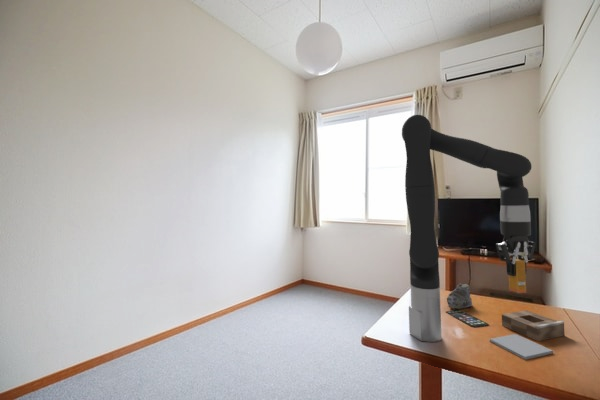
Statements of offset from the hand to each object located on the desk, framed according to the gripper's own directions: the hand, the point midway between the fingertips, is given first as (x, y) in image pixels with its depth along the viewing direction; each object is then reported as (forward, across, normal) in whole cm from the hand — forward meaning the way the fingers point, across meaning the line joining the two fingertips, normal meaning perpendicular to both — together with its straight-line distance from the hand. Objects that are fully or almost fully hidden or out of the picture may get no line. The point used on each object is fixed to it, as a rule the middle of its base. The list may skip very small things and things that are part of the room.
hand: (516, 274), depth 86 cm
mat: (+23, 0, 0) cm, 23 cm away
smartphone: (+23, +2, +22) cm, 32 cm away
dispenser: (+23, +15, +7) cm, 28 cm away
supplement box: (+5, 0, 0) cm, 5 cm away
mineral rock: (+23, +9, +33) cm, 41 cm away
